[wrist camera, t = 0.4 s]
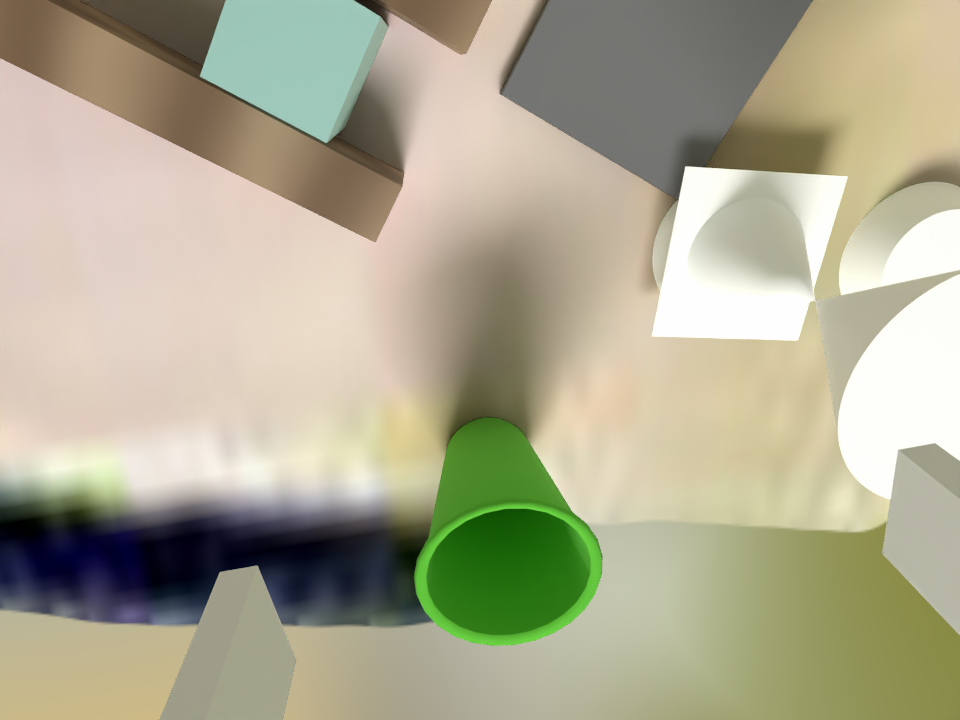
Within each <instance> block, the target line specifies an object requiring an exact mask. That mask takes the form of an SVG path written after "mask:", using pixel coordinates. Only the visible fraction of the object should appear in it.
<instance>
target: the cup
mask: <svg viewBox="0 0 960 720" xmlns="http://www.w3.org/2000/svg"><path fill="white" fill-rule="evenodd" d="M601 575H602V553H601V550H600V546H599V543H598V539H597V538H596V536H595V535H594V534H593V532H592V531H591V529H590V528H589V526H588V525H587V524H586V523H585V522H584V521H583V520H581V519H580V518H579V517H578V516H576V515H575V514H574V513H573V512H572V511H571V509H570V507H569V506H568V504H567V503H566V501H565V499H564V498H563V496H562V495H561V493H560V491H559V490H558V488H557V487H556V485H555V483H554V482H553V480H552V479H551V477H550V475H549V474H548V472H547V471H546V469H545V467H544V466H543V464H542V463H541V461H540V459H539V458H538V456H537V455H536V453H535V451H534V450H533V448H532V447H531V445H530V443H529V442H528V440H527V439H526V437H525V436H524V434H523V433H522V431H521V430H519V429H518V428H517V427H516V426H515V425H513V424H511V423H509V422H507V421H504V420H501V419H497V418H481V419H477V420H474V421H471V422H469V423H467V424H466V425H464V426H463V427H461V428H460V429H459V430H458V431H457V432H456V433H455V434H454V436H453V437H452V438H451V440H450V442H449V444H448V446H447V450H446V455H445V460H444V465H443V470H442V475H441V480H440V484H439V489H438V494H437V499H436V504H435V509H434V514H433V519H432V524H431V529H430V533H429V538H428V540H427V541H426V543H425V545H424V547H423V549H422V551H421V553H420V555H419V557H418V558H417V563H416V568H415V574H414V581H415V588H416V594H417V597H418V599H419V601H420V603H421V605H422V607H423V609H424V611H425V612H426V613H427V614H428V615H429V616H430V618H431V619H432V620H433V621H434V622H435V623H436V624H437V625H438V626H439V627H441V628H442V629H444V630H445V631H447V632H449V633H450V634H452V635H453V636H456V637H458V638H461V639H464V640H467V641H470V642H472V643H479V644H486V645H492V646H495V645H516V644H520V643H525V642H530V641H534V640H537V639H540V638H542V637H544V636H547V635H550V634H552V633H554V632H556V631H558V630H559V629H561V628H562V627H564V626H566V625H567V624H569V623H571V622H572V621H573V620H574V619H575V618H576V617H577V616H578V615H579V614H580V613H581V612H582V611H583V610H585V608H586V607H587V605H588V604H589V602H590V601H591V599H592V598H593V596H594V595H595V592H596V590H597V587H598V584H599V581H600V578H601Z"/></svg>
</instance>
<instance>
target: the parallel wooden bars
mask: <svg viewBox="0 0 960 720" xmlns="http://www.w3.org/2000/svg"><path fill="white" fill-rule="evenodd" d="M371 1H373V2H374V3H376V4H378V5H379V6H381V7H383V8H384V9H386V10H388V11H389V12H391V13H392V14H394V15H396V16H397V17H399V18H401V19H402V20H404V21H406V22H407V23H409V24H411V25H412V26H414V27H416V28H417V29H419V30H421V31H422V32H424V33H426V34H427V35H429V36H430V37H432V38H434V39H435V40H437V41H439V42H440V43H442V44H444V45H445V46H447V47H449V48H450V49H452V50H454V51H455V52H457V53H459V54H460V55H462V54H465V53H467V51H468V49H469V47H470V45H471V43H472V41H473V39H474V37H475V34H476V32H477V30H478V28H479V26H480V24H481V22H482V20H483V18H484V16H485V14H486V12H487V10H488V8H489V5H490V3H491V1H492V0H371ZM0 58H1V59H3V60H5V61H7V62H9V63H11V64H13V65H15V66H17V67H19V68H21V69H24V70H26V71H28V72H30V73H32V74H34V75H36V76H38V77H40V78H42V79H44V80H46V81H48V82H50V83H52V84H54V85H56V86H58V87H60V88H62V89H64V90H66V91H68V92H70V93H72V94H74V95H76V96H78V97H80V98H82V99H85V100H87V101H89V102H91V103H93V104H95V105H97V106H99V107H101V108H103V109H105V110H107V111H109V112H111V113H113V114H115V115H117V116H119V117H121V118H123V119H125V120H127V121H129V122H131V123H133V124H135V125H137V126H139V127H141V128H143V129H146V130H148V131H150V132H152V133H154V134H156V135H158V136H160V137H162V138H164V139H166V140H168V141H170V142H172V143H174V144H176V145H178V146H180V147H182V148H184V149H186V150H188V151H190V152H192V153H194V154H196V155H198V156H200V157H202V158H204V159H207V160H209V161H211V162H213V163H215V164H217V165H219V166H221V167H223V168H225V169H227V170H229V171H231V172H233V173H235V174H237V175H239V176H241V177H243V178H245V179H247V180H249V181H251V182H253V183H255V184H257V185H259V186H261V187H263V188H265V189H268V190H270V191H272V192H274V193H276V194H278V195H280V196H282V197H284V198H286V199H288V200H290V201H292V202H294V203H296V204H298V205H300V206H302V207H304V208H306V209H308V210H310V211H312V212H314V213H316V214H318V215H320V216H322V217H324V218H326V219H329V220H331V221H333V222H335V223H337V224H339V225H341V226H343V227H345V228H347V229H349V230H351V231H353V232H355V233H357V234H359V235H361V236H363V237H365V238H367V239H369V240H371V241H373V242H376V240H377V238H378V236H379V234H380V232H381V230H382V228H383V225H384V223H385V221H386V219H387V217H388V215H389V213H390V211H391V209H392V207H393V205H394V203H395V201H396V198H397V196H398V194H399V192H400V190H401V188H402V185H403V177H404V173H403V172H401V171H399V170H397V169H395V168H394V167H392V166H390V165H388V164H386V163H384V162H382V161H380V160H378V159H377V158H375V157H373V156H371V155H369V154H367V153H365V152H363V151H362V150H360V149H358V148H356V147H354V146H352V145H350V144H348V143H347V142H345V141H343V140H341V139H339V138H337V137H335V136H334V137H333V138H332V139H331V140H330V141H328V142H327V143H325V142H323V141H321V140H320V139H318V138H316V137H314V136H312V135H310V134H308V133H306V132H304V131H302V130H301V129H299V128H297V127H295V126H293V125H291V124H289V123H287V122H285V121H284V120H282V119H280V118H278V117H276V116H274V115H272V114H270V113H268V112H266V111H265V110H263V109H261V108H259V107H257V106H255V105H253V104H251V103H249V102H247V101H246V100H244V99H242V98H240V97H238V96H236V95H234V94H232V93H230V92H228V91H227V90H225V89H223V88H221V87H219V86H217V85H215V84H213V83H211V82H209V81H208V80H206V79H204V78H202V77H200V74H201V71H202V68H203V66H202V65H200V64H198V63H196V62H194V61H192V60H191V59H189V58H187V57H185V56H183V55H181V54H179V53H177V52H175V51H174V50H172V49H170V48H168V47H166V46H164V45H162V44H160V43H159V42H157V41H155V40H153V39H151V38H149V37H147V36H145V35H144V34H142V33H140V32H138V31H136V30H134V29H132V28H130V27H129V26H127V25H125V24H123V23H121V22H119V21H117V20H115V19H113V18H112V17H110V16H108V15H106V14H104V13H102V12H100V11H98V10H97V9H95V8H93V7H91V6H89V5H87V4H85V3H83V2H82V1H80V0H0Z"/></svg>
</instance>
